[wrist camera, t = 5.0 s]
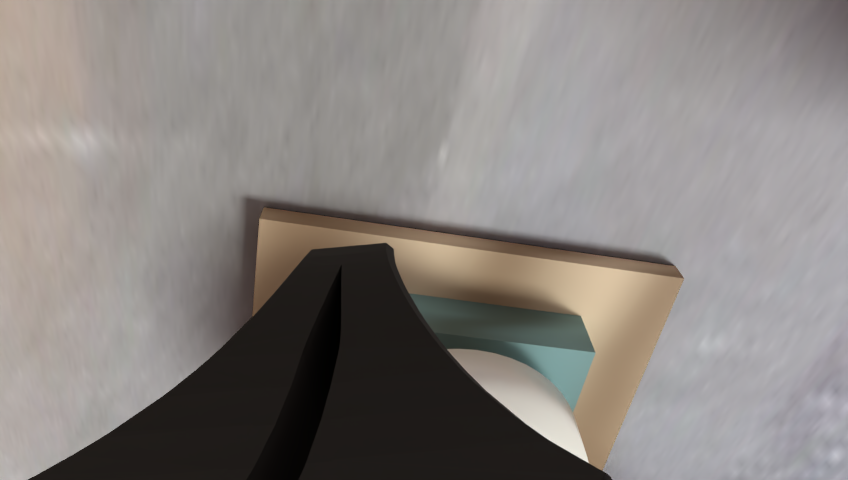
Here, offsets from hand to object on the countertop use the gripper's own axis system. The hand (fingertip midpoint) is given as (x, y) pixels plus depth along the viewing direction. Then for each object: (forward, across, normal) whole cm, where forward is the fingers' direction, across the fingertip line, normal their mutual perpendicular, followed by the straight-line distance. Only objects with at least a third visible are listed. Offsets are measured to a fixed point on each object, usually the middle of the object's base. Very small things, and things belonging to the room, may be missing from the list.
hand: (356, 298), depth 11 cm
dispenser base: (+10, -1, +11) cm, 15 cm away
